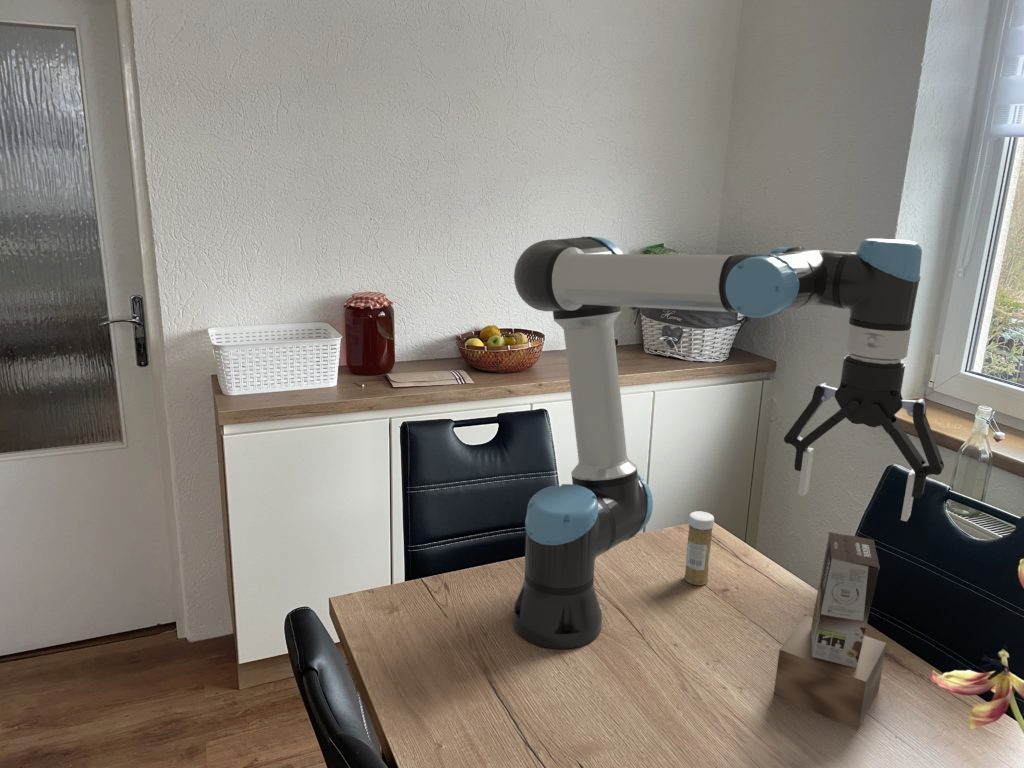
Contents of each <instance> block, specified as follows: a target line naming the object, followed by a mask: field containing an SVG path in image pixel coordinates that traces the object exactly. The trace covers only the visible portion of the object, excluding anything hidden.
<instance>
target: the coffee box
mask: <svg viewBox="0 0 1024 768" xmlns="http://www.w3.org/2000/svg"><path fill="white" fill-rule="evenodd" d="M825 546H826V547H825V550H824V551H825V552H824V557H823V561H822V568H821V572H820V579H819V584H818V588H817V594H816V600H815V606H814V609H813V616H812V618H813V620H812V625H811V635H812V657H814V658H818V659H822V660H826V661H830V662H834V663H838V664H842V665H846V666H849V667H853V668H856V667H857V665H858V660H859V656H860V652H861V647H862V643H863V639H864V635H866V629H867V623H868V620H869V616H870V612H871V606H872V603H873V600H874V599H873V598H874V593H875V589H876V587H877V586H876V585H877V580H878V576H879V572H880V569H881V566H880V563H879V557H878V553H877V550H876V545H875V540H873V539H870V538H865V537H860V536H856V535H848V534H841V533H835V532H831V531H830V532H828V537H827V542H826V545H825Z"/></svg>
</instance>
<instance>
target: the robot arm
mask: <svg viewBox="0 0 1024 768" xmlns="http://www.w3.org/2000/svg"><path fill="white" fill-rule="evenodd" d="M922 250H923V249H922V247H921V245H920V244H919V243H918V242H915V241H913V240H912V241H911V240H907V239H906V240H905V239H895V238H894V239H893V238H889V239H888V238H865V239H863V240H862V241H861V242H860V243H859V248H858V249H857V250H856V252H855V251H854V252H849V251H848V252H845V251H843V252H842V251H835V250H832V251H831V250H826V249H825V250H823V249H816V248H815V249H814V248H803V247H802V246H795V247H794V246H793V247H792V246H789V247H783V246H779V247H775V248H774V249H772V250H770V253H769V254H745V253H744V254H686V253H685V254H683V253H682V254H681V253H680V254H679V253H678V254H676V253H675V254H669V253H668V254H666V253H665V254H661V253H660V254H657V253H656V254H654V253H653V254H651V253H650V254H649V253H648V254H646V253H643V254H642V253H640V254H639V253H635V254H633V253H629V254H628V253H623V251H622V250H621V248H619V246H617V245H616V244H615V243H614V242H612V241H611V240H609V239H606V238H604V237H603V238H602V237H597V236H595V237H594V236H581V237H570V238H568V237H567V238H558V239H546V240H545V239H544V240H541V241H538V242H535V243H532V244H530V246H528V247H527V248H526V249H525V250H524V251H523V252H522V253H521V255H520V256H518V257H519V258H518V259H517V262H516V263H515V267H514V274H513V279H514V280H513V281H514V285H515V289H516V292H517V294H518V295H519V297H520V298H521V299H522V301H523V302H524V303H525V304H526V305H528V306H529V307H531V308H532V309H535V310H537V311H541V312H552V315H553V316H552V317H553V321H554V322H555V323H556V324H557V325H559V327H561V328H562V330H563V335H564V336H563V337H564V342H565V353H566V362H567V363H566V364H567V370H568V379H569V388H570V397H571V398H570V399H571V405H572V407H571V408H572V415H573V424H574V432H575V440H576V449H577V457H578V463H577V465H575V467H574V468H573V469H572V471H571V482H572V484H569V483H566V484H565V483H564V484H561V485H559V486H557V485H555V484H554V485H551V486H547V487H544V488H542V489H540V490H538V492H536V493H535V494H534V495H532V497H531V498H530V499H529V502H528V504H527V508H526V509H527V510H526V516H525V521H524V529H525V537H524V538H525V539H524V541H525V542H524V544H525V545H524V548H525V549H524V581H523V583H522V585H521V588H520V591H519V593H518V596H517V598H516V600H515V603H514V606H513V610H512V626H513V629H514V631H515V632H516V633H517V634H518V635H519V636H520V637H521V638H522V639H524V640H526V641H527V642H529V643H532V644H534V645H536V646H540V647H544V648H548V649H558V650H560V649H561V650H562V649H574V648H579V647H583V646H585V645H588V644H589V643H592V642H593V641H594V640H595V639H597V637H598V636H599V635H600V634H601V632H602V626H603V625H602V623H603V613H602V609H601V608H600V603H599V599H598V596H597V592H596V589H595V584H594V580H595V579H594V578H595V566H596V565H595V563H596V559H597V557H599V556H601V555H602V554H604V553H606V552H608V551H609V550H611V549H613V548H615V547H616V546H617V545H620V544H621V543H623V542H626V541H629V540H630V539H633V538H634V537H635V536H636V535H637V534H639V532H641V531H642V530H643V529H644V528H645V527H646V526H647V524H648V523H649V521H650V519H651V518H652V513H653V510H654V509H653V508H654V503H653V502H654V499H653V494H652V492H651V491H652V490H651V488H650V487H649V484H648V483H645V481H644V478H643V477H642V475H640V474H638V466H637V465H636V464H635V463H634V462H633V461H632V460H631V459H629V458H628V453H627V443H626V434H625V426H624V416H623V404H622V396H621V384H620V378H619V377H620V376H619V368H618V358H617V357H618V356H617V348H616V340H615V329H614V323H615V321H616V320H617V319H618V317H619V316H620V314H621V313H622V310H621V307H628V308H646V309H665V310H666V309H668V310H688V311H707V312H709V311H710V312H725V313H726V312H727V313H728V312H729V313H735V314H736V313H738V314H740V315H742V316H744V317H747V318H755V319H758V318H772V317H776V316H777V315H780V314H782V313H785V312H788V311H792V310H795V309H799V308H803V307H806V306H819V307H820V306H821V307H828V308H829V307H830V308H837V309H843V310H845V309H846V310H849V311H850V312H849V315H850V316H849V320H848V328H847V334H846V335H847V336H846V341H845V352H846V353H848V354H847V355H846V356H844V358H843V362H842V369H841V377H840V385H839V387H838V388H837V387H833V386H829V385H828V383H826V382H824V381H823V382H820V383H819V384H818V385H816V386H815V387H814V390H813V394H812V396H811V397H812V398H811V400H810V402H809V403H808V405H807V406H806V407H805V409H804V410H803V411H802V413H800V415H799V417H798V418H797V419H796V421H795V422H794V424H793V425H792V426H791V427H790V429H789V431H788V432H787V433H786V434H785V436H784V437H783V442H784V443H785V444H789V445H791V446H793V447H794V448H795V459H794V470H795V471H797V472H800V476H799V483H798V484H799V485H798V489H797V491H798V492H797V496H801V497H804V496H805V495H806V494H807V493H808V492H809V488H810V483H811V482H810V481H811V474H812V466H813V458H814V453H815V448H813V447H809V446H811V445H812V444H813V443H814V442H816V441H817V440H819V438H822V436H823V435H825V434H826V433H827V432H828V431H830V430H831V429H832V428H834V427H835V426H837V425H838V424H839V423H840V422H842V421H843V420H844V419H847V421H849V422H850V423H851V424H854V425H865V426H867V427H872V428H877V427H882V428H883V430H884V431H885V433H887V434H888V435H889V436H890V438H891V440H892V441H893V442H894V443H895V444H894V445H896V447H897V449H898V450H899V451H900V453H901V454H902V455H903V457H904V459H905V460H906V461H907V463H908V464H909V466H910V467H911V470H910V471H909V473H908V474H907V481H906V486H905V487H906V488H905V492H904V493H905V494H904V498H903V505H902V510H901V517H900V521H903V522H908V520H909V518H910V517H911V515H912V508H913V503H914V498H915V499H920V498H921V497H922V496H923V494H924V492H925V486H926V481H927V476H932V475H934V476H935V475H936V476H939V475H941V473H942V472H943V470H944V469H945V468H944V467H945V464H944V461H943V458H942V455H941V453H940V450H939V447H938V445H937V442H936V439H935V436H934V434H933V431H932V429H931V428H932V427H931V425H930V423H929V420H928V417H927V400H926V399H924V398H918V399H915V400H914V399H903V396H902V390H903V389H902V387H903V383H904V377H905V369H906V368H905V367H906V364H905V363H904V361H903V360H904V359H906V358H907V356H908V350H909V346H910V338H911V334H912V324H913V323H912V321H913V317H914V310H915V304H916V300H917V293H918V289H919V283H920V282H921V279H922V278H921V275H920V273H921V263H922V253H923V251H922ZM832 397H834V399H835V401H836V402H837V404H838V406H839V408H840V409H839V410H837V411H836V412H835V413H833V414H832V415H831V416H830V417H828V418H827V420H825V421H824V422H822V423H821V424H819V425H818V426H817V427H815V429H813V430H812V431H811V432H809V433H808V434H807V435H806V436H805V437H801V436H800V434H801V433H802V431H803V430H804V429H805V427H806V426H807V425H808V423H809V422H810V421H811V419H812V418H813V417H814V416H815V414H816V412H818V410H819V409H820V408H821V406H822V405H823V403H825V402H827V401H829V400H830V399H831V398H832ZM901 409H903V410H905V411H906V413H907V416H908V417H911V418H912V422H913V425H914V428H915V430H916V434H917V436H918V439H919V441H920V444H921V447H922V449H923V450H922V451H923V452H924V455H925V457H926V460H927V462H926V461H925V459H924V457H923V456H922V455H921V453H920V452H919V450H918V449H917V448H916V445H914V443H913V442H912V440H911V438H910V437H909V436H908V434H907V433H906V431H905V430H904V428H903V427H902V425H901V422H900V421H899V419H898V417H897V416H896V415H897V413H898V412H899V411H900V410H901Z"/></svg>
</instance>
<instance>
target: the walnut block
mask: <svg viewBox="0 0 1024 768" xmlns="http://www.w3.org/2000/svg"><path fill="white" fill-rule="evenodd" d="M812 620H813V616H812V617H811V616H809V615H804V616H803V618H802V619H801V620H800V621H799V623H798V624H797V625H796V627H795V629H794V630H793V631H792V632H791V634H790V635H789V636H788V638H787V639H786V641H784V643H783V644H782V645H781V647H780V648H779V650H778V651H779V652H778V659H777V665H776V675H775V681H774V682H775V683H774V691H773V696H774V697H777V698H779V699H782V700H784V701H786V702H789V703H791V704H792V705H796V706H799V708H803V709H806V710H808V711H811V712H812V713H813V712H814V713H816V714H818V715H820V716H823V717H825V718H827V719H831V720H832V721H835V722H837V723H840V724H841V725H845V726H847V727H850V728H852V729H855V730H856V731H859V729H860V727H861V725H862V723H863V721H864V720H865V717H866V715H867V713H868V711H869V709H870V707H871V705H872V704H873V701H874V698H875V697H876V695H877V693H878V691H879V689H880V685H881V678H882V673H883V666H884V662H885V661H884V660H885V654H886V649H887V642H885V641H881V640H880V639H875V638H873V637H870V636H867V635H866V634H864V639H863V643H862V647H861V652H860V656H859V660H858V665H857V667H856V668H853V667H849V666H846V665H842V664H838V663H834V662H830V661H826V660H822V659H818V658H814V657H812V635H811V625H812Z"/></svg>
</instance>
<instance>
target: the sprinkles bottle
mask: <svg viewBox="0 0 1024 768" xmlns="http://www.w3.org/2000/svg"><path fill="white" fill-rule="evenodd" d="M688 526H689V527H688V535H687V536H688V537H687V543H686V544H687V547H686V557H685V571H684V572H685V573H684V575H683V579H684V580H685V582H687V583H688V584H690V585H692V586H693V585H695V586H703V585H707V583H708V581H709V570H710V563H711V548H712V547H711V546H712V536H713V535H712V534H713V528H714V526H715V517H714V515H713V514H711V513H709V512H706V511H701V510H699V511H697V510H695V511H692V512H690V513H689V516H688Z"/></svg>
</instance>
